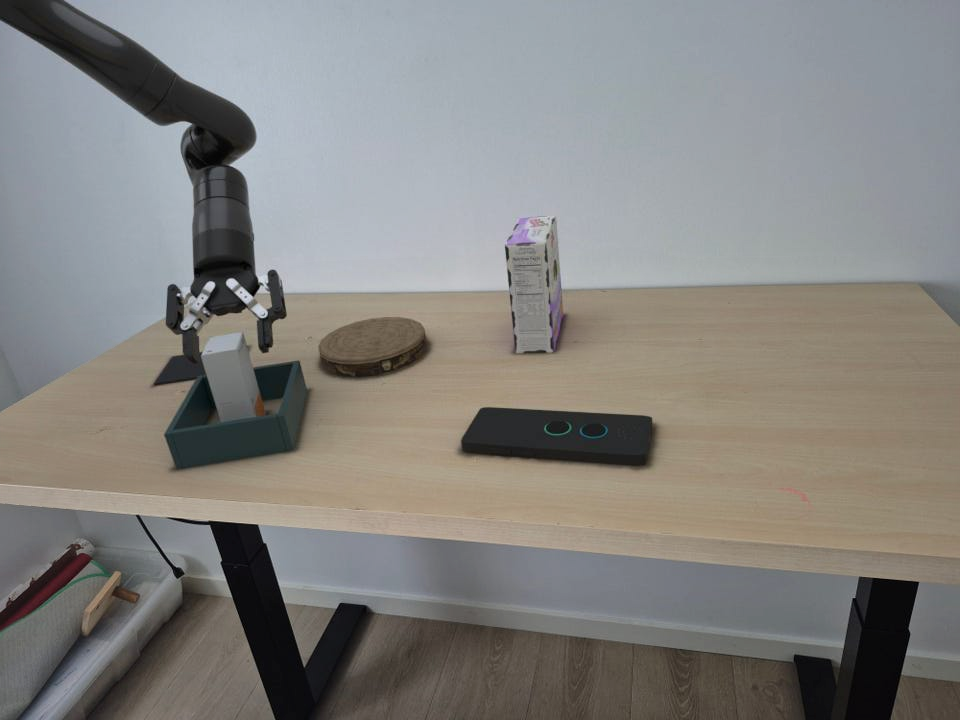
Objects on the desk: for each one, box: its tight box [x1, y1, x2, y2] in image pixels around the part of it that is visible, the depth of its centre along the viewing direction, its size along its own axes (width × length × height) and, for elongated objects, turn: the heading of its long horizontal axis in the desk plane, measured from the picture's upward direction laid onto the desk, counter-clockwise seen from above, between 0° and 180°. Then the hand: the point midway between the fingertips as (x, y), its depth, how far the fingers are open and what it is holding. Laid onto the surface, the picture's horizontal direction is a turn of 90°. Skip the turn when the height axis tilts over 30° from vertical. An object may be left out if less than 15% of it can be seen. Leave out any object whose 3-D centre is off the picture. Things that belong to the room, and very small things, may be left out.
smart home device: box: [460, 406, 653, 467], centre depth 77 cm, size 8×2×20 cm
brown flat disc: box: [317, 316, 428, 379], centre depth 104 cm, size 16×16×3 cm
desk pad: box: [153, 351, 206, 386], centre depth 109 cm, size 12×10×1 cm
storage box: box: [163, 359, 308, 470], centre depth 87 cm, size 14×16×5 cm
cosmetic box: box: [201, 331, 267, 423], centre depth 86 cm, size 6×4×12 cm
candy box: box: [504, 215, 564, 354], centre depth 101 cm, size 14×6×16 cm, turn 168°
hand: (229, 356), depth 85 cm, fingers open, 8 cm apart
